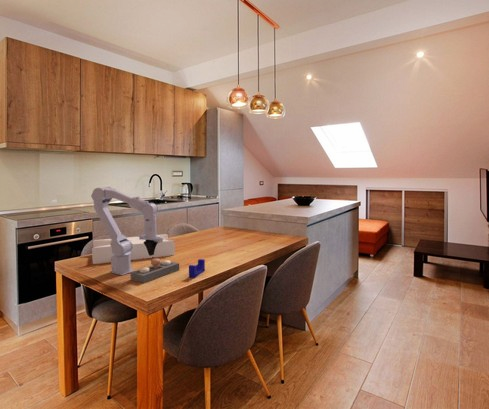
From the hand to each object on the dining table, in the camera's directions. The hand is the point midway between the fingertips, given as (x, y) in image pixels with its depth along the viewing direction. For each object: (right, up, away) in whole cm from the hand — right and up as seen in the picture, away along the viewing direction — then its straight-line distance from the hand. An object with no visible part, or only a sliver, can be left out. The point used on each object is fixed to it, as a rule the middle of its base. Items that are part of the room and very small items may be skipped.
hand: (151, 255), depth 156 cm
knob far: (+6, -9, +5) cm, 12 cm away
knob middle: (+3, -7, -1) cm, 7 cm away
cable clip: (+22, -10, +1) cm, 24 cm away
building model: (-21, -6, +37) cm, 43 cm away
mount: (+3, -10, -1) cm, 10 cm away
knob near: (-1, -10, -7) cm, 12 cm away
